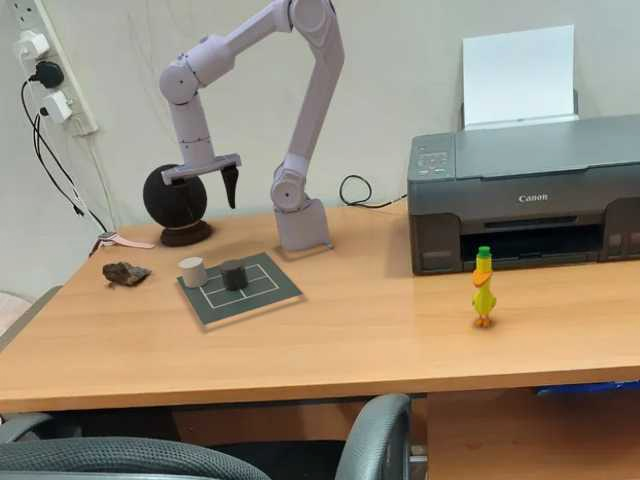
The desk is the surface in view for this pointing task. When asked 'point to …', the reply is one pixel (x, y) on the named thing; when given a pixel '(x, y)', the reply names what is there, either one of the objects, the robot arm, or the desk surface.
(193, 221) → the black ball on stand
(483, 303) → the toy figure
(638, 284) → the desk surface
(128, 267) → the rock sample
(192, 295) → the game board
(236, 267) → the dark grey cylinder
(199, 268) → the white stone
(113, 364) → the desk surface
